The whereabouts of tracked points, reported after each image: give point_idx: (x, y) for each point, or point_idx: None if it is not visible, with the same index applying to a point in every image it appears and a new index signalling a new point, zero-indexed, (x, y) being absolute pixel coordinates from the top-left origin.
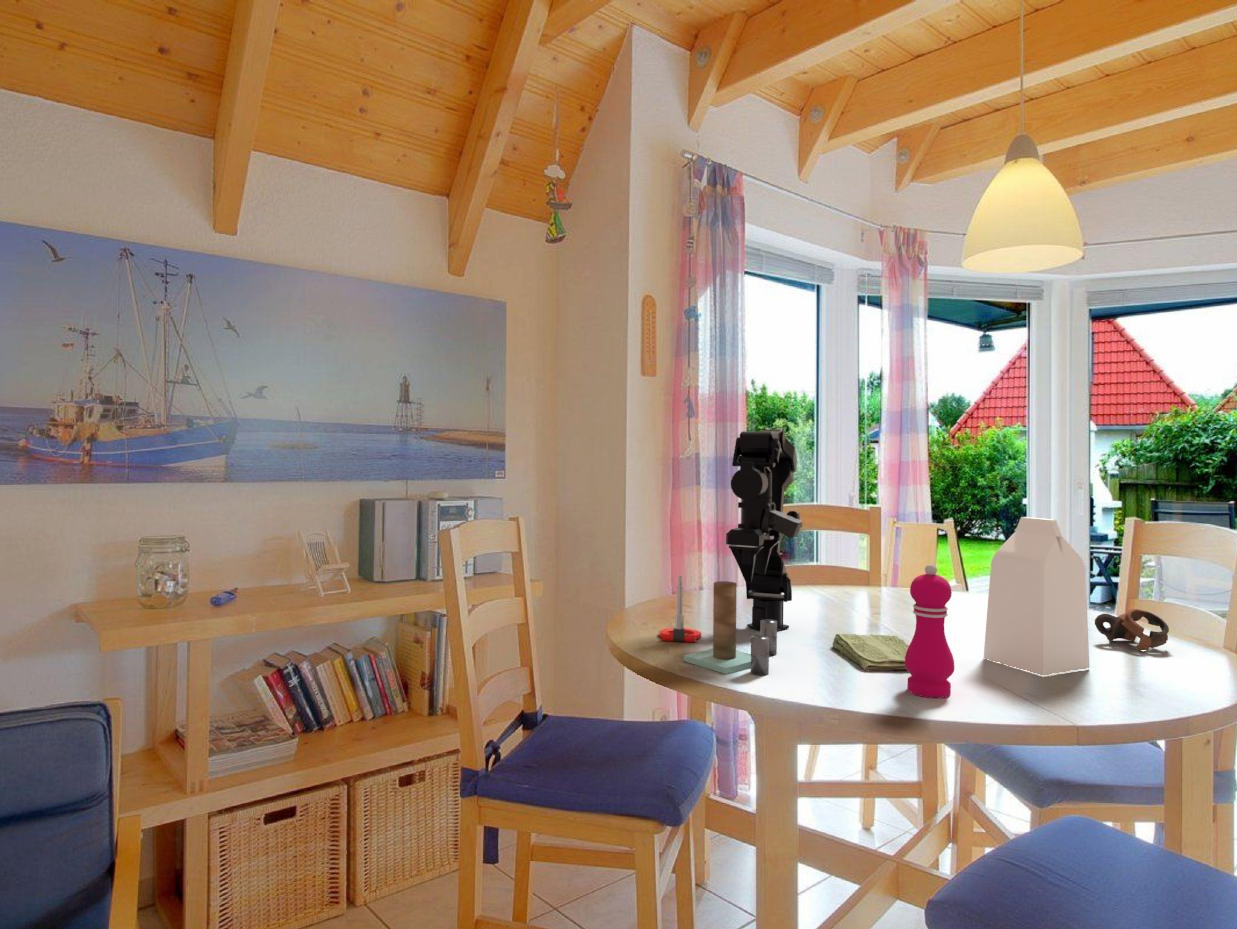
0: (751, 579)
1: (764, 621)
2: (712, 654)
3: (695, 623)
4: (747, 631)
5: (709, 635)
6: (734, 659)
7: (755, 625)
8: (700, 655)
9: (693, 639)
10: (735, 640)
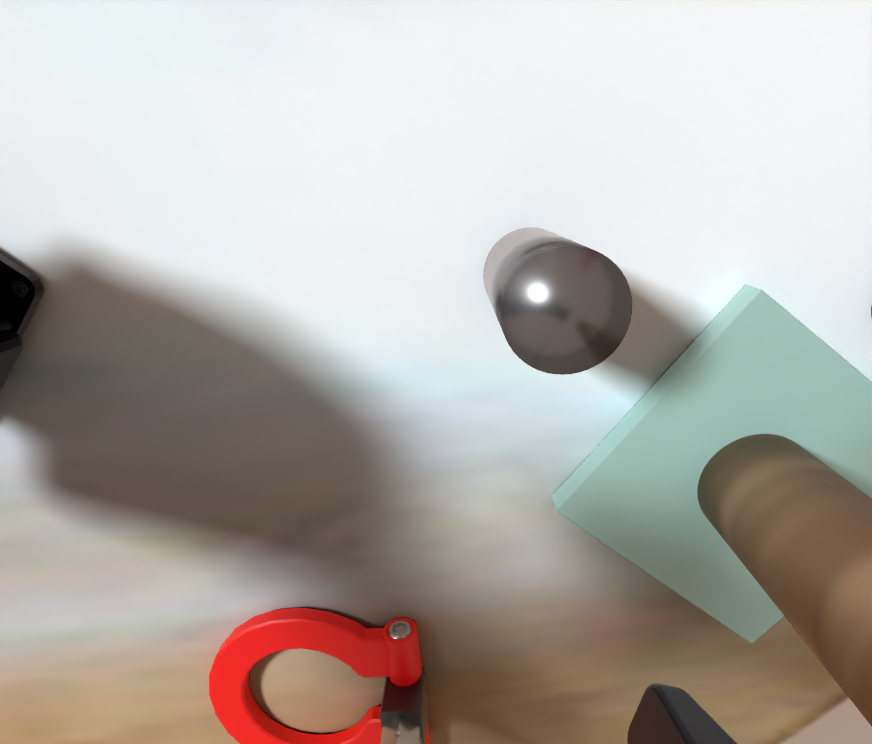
0: (704, 715)
1: (588, 344)
2: (719, 538)
3: (27, 656)
4: (70, 410)
5: (245, 576)
6: (802, 436)
7: (3, 379)
8: (745, 583)
9: (417, 636)
10: (837, 480)
